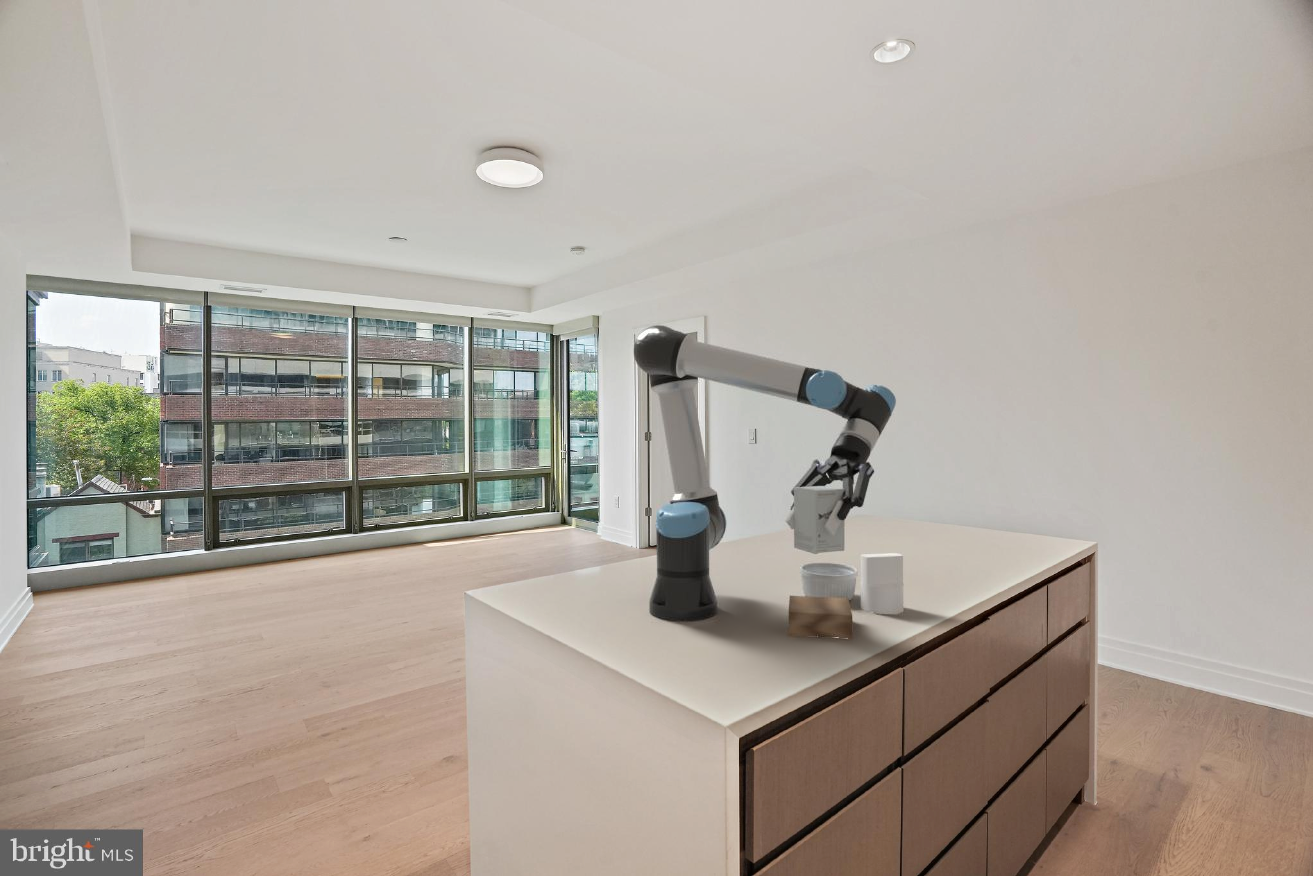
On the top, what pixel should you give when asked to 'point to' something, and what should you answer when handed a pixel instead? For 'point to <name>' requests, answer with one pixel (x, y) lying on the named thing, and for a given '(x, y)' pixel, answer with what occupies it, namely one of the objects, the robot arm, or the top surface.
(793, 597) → the walnut block
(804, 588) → the ramekin
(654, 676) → the top surface
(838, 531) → the supplement box
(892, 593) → the cylinder with rectangular tab
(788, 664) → the top surface
